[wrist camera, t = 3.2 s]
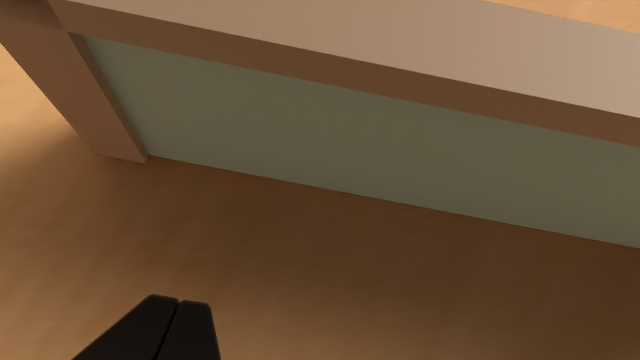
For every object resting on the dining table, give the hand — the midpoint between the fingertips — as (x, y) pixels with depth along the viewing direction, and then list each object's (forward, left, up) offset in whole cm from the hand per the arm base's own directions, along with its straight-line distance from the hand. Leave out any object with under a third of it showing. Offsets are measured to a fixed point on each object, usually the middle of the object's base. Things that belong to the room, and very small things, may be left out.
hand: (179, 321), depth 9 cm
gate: (+3, -7, -10) cm, 13 cm away
